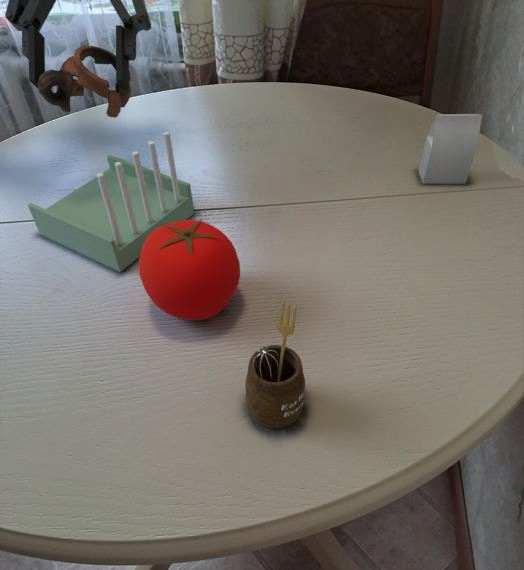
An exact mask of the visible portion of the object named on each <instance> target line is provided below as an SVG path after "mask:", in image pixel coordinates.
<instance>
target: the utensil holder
mask: <svg viewBox="0 0 524 570" xmlns="http://www.w3.org/2000/svg"><path fill="white" fill-rule="evenodd" d="M291 306H292V305H291V304H290V303H287V304H286V311H285V318H284V310H285V302H284V301H282V302H280V307H279V314H278V323H277V331H278V332H279V333H280V334H281V335H282V340H281V344H270V345H266V346H263V347H262V346H260V347H259V349H258V350H255V351H254V352H253V353H252V355H251V357H250V359H249V362H248V367H247V374H246V376H245V398H246V406H247V410H248V413H249V416H251V418H252V419H253V420H254V421H255V422H256V423H257V424H258V425H261V426H263V427H266V428H268V429H281V428H286V427H288V426H291V425H292V424H293V423H295V422H296V421H297V420H298V419H299V418H300V416H301V414H302V412H303V410H304V406H305V405H304V404H305V395H306V378H305V374H304V368H303V363H302V360H301V357H300V356H299V354H298V353H297V352H296V351H294V350H293V349H291V348H290V347H288V346H287V345H286V344H287V337H288V336H291V335H293V334H294V332H295V324H296V318H297V310H298V306H297V305H293V307H292V313H291ZM290 313H291V314H292V315H291V321H290ZM283 319H284V322H283ZM289 322H290V324H289Z"/></svg>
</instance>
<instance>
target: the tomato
mask: <svg viewBox="0 0 524 570" xmlns="http://www.w3.org/2000/svg"><path fill="white" fill-rule="evenodd" d="M202 220H203V218H201V219H200V220H195V219H187V220H184V221H178V222H174V223H170V224H166V225H164V226H161V227H159V228H157V229H155V230H154V231H153V232H152V233H151V234H150V235H149V236H148V238H147V239H146V241H145V243H144V245H143V247H142V251H141V255H140V257H139V258H138V273H139V277H140V280H141V283H142V286H143V288H144V291H145V293H146V294H147V296H148V297H149V298H150V300H151V301H152V302H153V304H154V305H155V306H156V307H157V308H159V309H160V310H161V311H163V312H164V313H165V314H167V315H169V316H171V317H174V318H176V319H177V318H178V319H182V320H184V321H185V320H186V321H201V320H202V321H203V320H206V319H210V318H213V317H214V316H216V315H218V314H219V313H221V312H222V310H223V309H225V307H226V306H227V305H228V304H229V303H230V302H231V300H232V298H233V297H234V295H235V293H236V291H237V288H238V286H239V283H240V278H241V265H240V263H241V261H240V259H239V257H238V254H237V251H236V248H235V246H234V244H233V242H232V241H231V240H230V238H229V237H228V236H227V235H226V234H225V233H224V232H223V231H221V229H219V228H217V227H216V226H214V225H212V224H210V223H208V222H205V221H202Z"/></svg>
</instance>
